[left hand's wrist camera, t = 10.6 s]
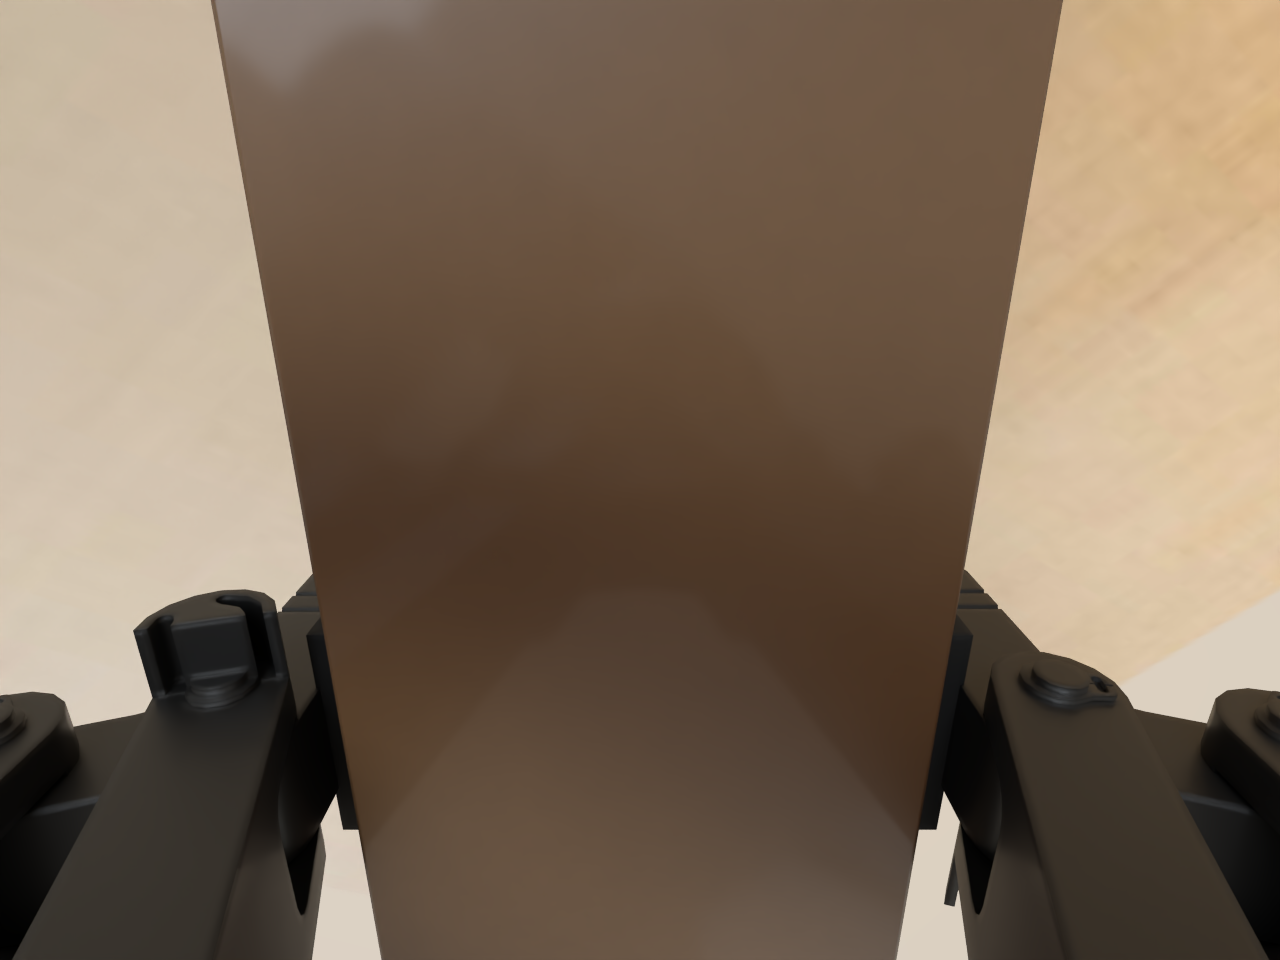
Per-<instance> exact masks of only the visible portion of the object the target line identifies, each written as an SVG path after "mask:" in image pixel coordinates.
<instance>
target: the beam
mask: <svg viewBox="0 0 1280 960" xmlns="http://www.w3.org/2000/svg"><path fill="white" fill-rule="evenodd" d="M1062 2H1063V0H211V3H212V9H213V14H214V20H215V26H216V31H217V37H218V43H219V48H220V54H221V59H222V65H223V71H224V76H225V82H226V88H227V93H228V99H229V104H230V110H231V116H232V121H233V127H234V132H235V138H236V144H237V149H238V155H239V161H240V166H241V172H242V177H243V183H244V189H245V194H246V200H247V206H248V211H249V217H250V222H251V228H252V234H253V239H254V245H255V251H256V256H257V262H258V267H259V273H260V279H261V284H262V290H263V296H264V301H265V307H266V312H267V318H268V324H269V329H270V335H271V341H272V346H273V352H274V357H275V363H276V369H277V374H278V380H279V385H280V391H281V397H282V402H283V408H284V414H285V419H286V425H287V430H288V436H289V442H290V447H291V453H292V459H293V464H294V470H295V475H296V481H297V487H298V492H299V498H300V504H301V509H302V515H303V520H304V526H305V532H306V537H307V543H308V549H309V554H310V560H311V565H312V571H313V577H314V582H315V588H316V594H317V599H318V605H319V610H320V616H321V622H322V627H323V633H324V638H325V644H326V650H327V655H328V661H329V667H330V672H331V678H332V683H333V689H334V695H335V700H336V706H337V712H338V717H339V723H340V728H341V734H342V740H343V745H344V751H345V757H346V762H347V768H348V773H349V779H350V785H351V790H352V796H353V802H354V807H355V813H356V818H357V824H358V830H359V835H360V841H361V847H362V852H363V858H364V863H365V869H366V875H367V880H368V886H369V891H370V897H371V903H372V908H373V914H374V920H375V925H376V931H377V936H378V942H379V948H380V953H381V959H382V960H896V958H897V952H898V946H899V940H900V935H901V929H902V923H903V917H904V912H905V906H906V900H907V894H908V888H909V883H910V877H911V871H912V865H913V860H914V854H915V848H916V843H917V837H918V831H919V825H920V820H921V814H922V808H923V802H924V797H925V791H926V785H927V779H928V774H929V768H930V762H931V756H932V751H933V745H934V739H935V733H936V728H937V722H938V716H939V710H940V704H941V699H942V693H943V687H944V681H945V676H946V670H947V664H948V658H949V653H950V647H951V641H952V635H953V630H954V624H955V618H956V612H957V607H958V601H959V595H960V589H961V584H962V578H963V572H964V566H965V561H966V555H967V549H968V543H969V538H970V532H971V526H972V520H973V515H974V509H975V503H976V497H977V492H978V486H979V480H980V474H981V469H982V463H983V457H984V451H985V446H986V440H987V434H988V428H989V423H990V417H991V411H992V405H993V400H994V394H995V388H996V382H997V376H998V371H999V365H1000V359H1001V353H1002V348H1003V342H1004V336H1005V330H1006V325H1007V319H1008V313H1009V307H1010V302H1011V296H1012V290H1013V284H1014V279H1015V273H1016V267H1017V261H1018V256H1019V250H1020V244H1021V238H1022V233H1023V227H1024V221H1025V215H1026V210H1027V204H1028V198H1029V192H1030V187H1031V181H1032V175H1033V169H1034V164H1035V158H1036V152H1037V146H1038V141H1039V135H1040V129H1041V123H1042V118H1043V112H1044V106H1045V100H1046V95H1047V89H1048V83H1049V77H1050V72H1051V66H1052V60H1053V54H1054V48H1055V43H1056V37H1057V31H1058V25H1059V20H1060V14H1061V8H1062Z"/></svg>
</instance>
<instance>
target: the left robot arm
mask: <svg viewBox="0 0 1280 960" xmlns="http://www.w3.org/2000/svg"><path fill="white" fill-rule="evenodd" d="M133 632H134V635H135V639H136V642H137V646H138V649H139V653H140V656H141V660H142V663H143V667H144V670H145V673H146V677H147V680H148V684H149V687H150V691H151V694H152V700H151V702H150V704H149V706H148V708H147V710H146V711H145V713H141V714H137V715H132V716H127V717H122V718H116V719H111V720H106V721H101V722H96V723H91V724H85V725H80V726H75V727H73V724H72V721H71V719H70V716H69V713H68V710H67V707H66V704H65V702H64V701H63V700H61V699H60V698H58V697H57V696H56V695H54V694H48V693H39V692H27V693H19V694H12V695H1V696H0V960H312V954H313V947H314V940H315V932H316V925H317V918H318V911H319V903H320V896H321V889H322V881H323V874H324V867H325V860H326V853H325V845H324V839H323V834H322V829H321V822H322V820H323V818H324V816H325V814H326V812H327V810H328V808H329V806H330V804H331V802H332V800H333V799H334V797H335V795H337V800H338V806H339V811H340V816H341V821H342V826H343V830H358V824H357V818H356V813H355V807H354V802H353V796H352V790H351V785H350V779H349V773H348V768H347V762H346V757H345V751H344V745H343V740H342V734H341V728H340V723H339V717H338V712H337V706H336V700H335V695H334V689H333V683H332V678H331V672H330V667H329V661H328V655H327V650H326V644H325V638H324V633H323V627H322V622H321V616H320V610H319V605H318V599H317V594H316V588H315V582H314V577H313V574H312V575H311V576H310V577H309V579H308V580H307V581H306V582H305V583H304V584H303V585H302V586H301V587H300V589H299V590H298V591H297V592H296V596H292V597H291V599H290V600H289V601H288V602H287V603H286V604H285V605H284V606H283V608H282V612H278V613H277V610H276V605H275V600H273V599H272V598H270V597H269V596H268V595H266V594H265V593H262V592H256V591H251V590H222V591H217V592H212V593H207V594H202V595H197V596H193V597H190V598H188V599H185V600H182V601H179V602H176V603H173V604H171V605H168V606H166V607H165V608H163V609H161V610H159V611H157V612H156V613H154V614H152V615H150V616H148V617H147V618H146V619H145V620H144V621H143V622H142V623H141V624H140V625H139V626H137V627H136V628H135V629H134V630H133ZM943 792H945V794H946V796H947V798H948V800H949V802H950V803H951V805H952V807H953V809H954V811H955V813H956V815H957V817H958V819H959V821H960V824H959V829H958V834H957V839H956V844H955V849H954V854H953V858H952V863H951V868H950V873H949V878H948V883H947V888H946V894H945V902H944V904H946V905H950V906H955V901H956V897H957V892H958V890H959V894H960V901H961V909H962V916H963V923H964V930H965V938H966V945H967V952H968V960H1280V692H1278V691H1265V690H1257V689H1250V688H1246V689H1237V690H1228V691H1226V692H1224V693H1223V694H1221V695H1220V696H1218V697H1217V698H1216V699H1215V702H1214V705H1213V708H1212V711H1211V714H1210V716H1209V719H1208V722H1207V723H1202V722H1196V721H1191V720H1186V719H1181V718H1176V717H1171V716H1165V715H1160V714H1155V713H1150V712H1145V711H1141V710H1137V709H1134V708H1133V706H1132V705H1131V703H1130V701H1129V699H1128V697H1127V696H1126V695H1125V694H1124V692H1123V691H1122V690H1121V689H1120V688H1119V687H1118V685H1117V684H1116V683H1115V682H1114V681H1112V680H1111V679H1109V678H1108V677H1106V676H1105V675H1103V674H1102V673H1100V672H1098V671H1097V670H1095V669H1094V668H1091V667H1089V666H1087V665H1084V664H1082V663H1079V662H1077V661H1075V660H1072V659H1070V658H1066V657H1062V656H1058V655H1053V654H1049V653H1045V652H1040V651H1039V650H1038V649H1037V648H1036V647H1035V646H1034V645H1033V644H1032V642H1031V641H1030V640H1029V639H1028V638H1027V637H1026V636H1025V635H1024V634H1023V632H1022V631H1021V630H1020V629H1019V628H1018V627H1017V626H1016V625H1015V624H1014V623H1013V621H1012V620H1011V619H1010V618H1009V617H1008V616H1007V615H1006V614H1005V613H1004V612H1003V610H1002V609H998V605H997V604H996V603H995V602H994V600H993V599H992V598H991V597H990V596H989V595H988V594H987V593H984V589H983V588H982V587H981V586H980V585H979V584H978V583H977V582H976V581H975V579H974V578H973V577H972V576H971V575H970V574H969V573H968V572H967V571H966V570H964V572H963V578H962V584H961V589H960V595H959V601H958V607H957V612H956V618H955V624H954V630H953V635H952V641H951V647H950V653H949V658H948V664H947V670H946V676H945V681H944V687H943V693H942V699H941V704H940V710H939V716H938V722H937V728H936V733H935V739H934V745H933V751H932V756H931V762H930V768H929V774H928V779H927V785H926V791H925V797H924V802H923V808H922V814H921V820H920V825H919V830H936V829H937V824H938V818H939V813H940V808H941V803H942V798H943Z"/></svg>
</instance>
